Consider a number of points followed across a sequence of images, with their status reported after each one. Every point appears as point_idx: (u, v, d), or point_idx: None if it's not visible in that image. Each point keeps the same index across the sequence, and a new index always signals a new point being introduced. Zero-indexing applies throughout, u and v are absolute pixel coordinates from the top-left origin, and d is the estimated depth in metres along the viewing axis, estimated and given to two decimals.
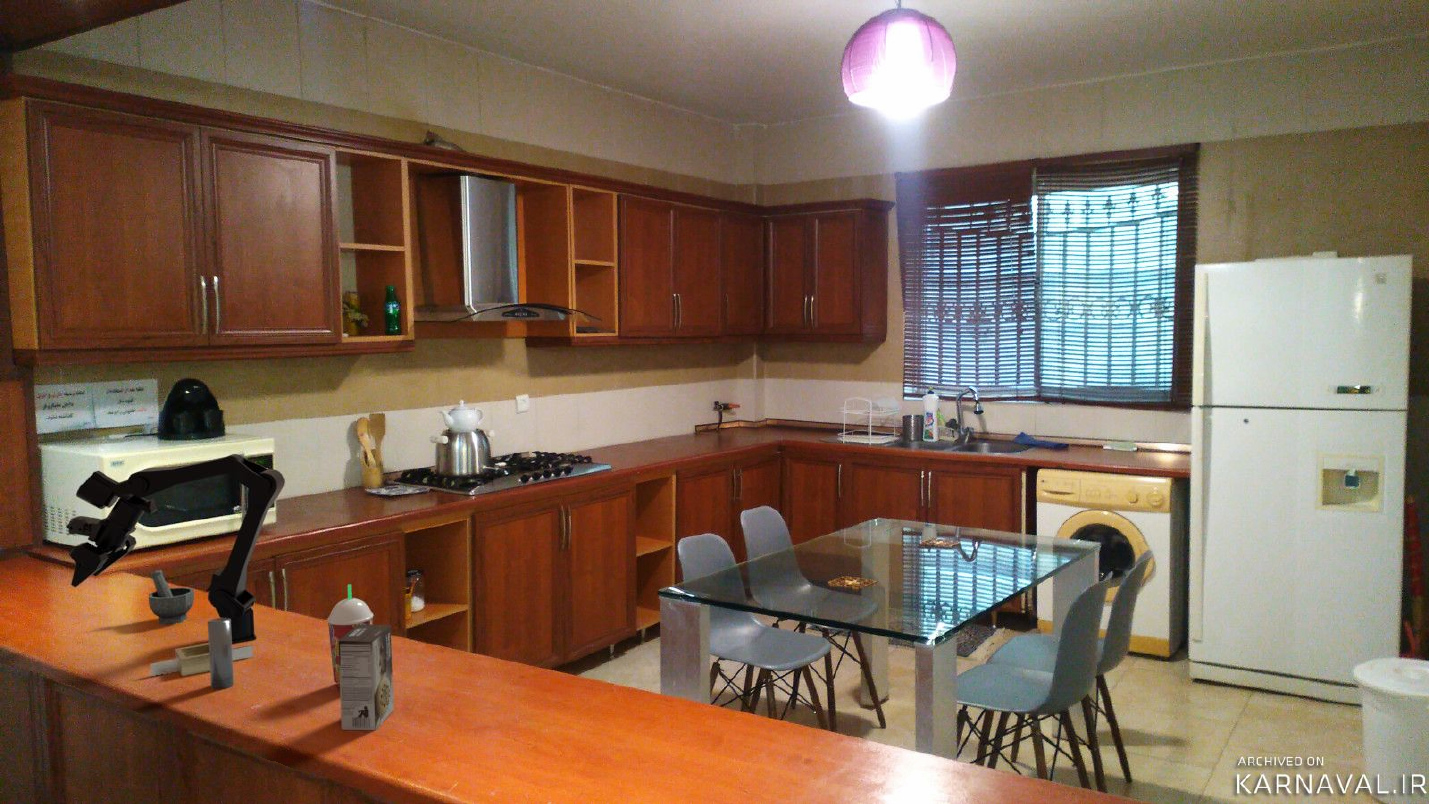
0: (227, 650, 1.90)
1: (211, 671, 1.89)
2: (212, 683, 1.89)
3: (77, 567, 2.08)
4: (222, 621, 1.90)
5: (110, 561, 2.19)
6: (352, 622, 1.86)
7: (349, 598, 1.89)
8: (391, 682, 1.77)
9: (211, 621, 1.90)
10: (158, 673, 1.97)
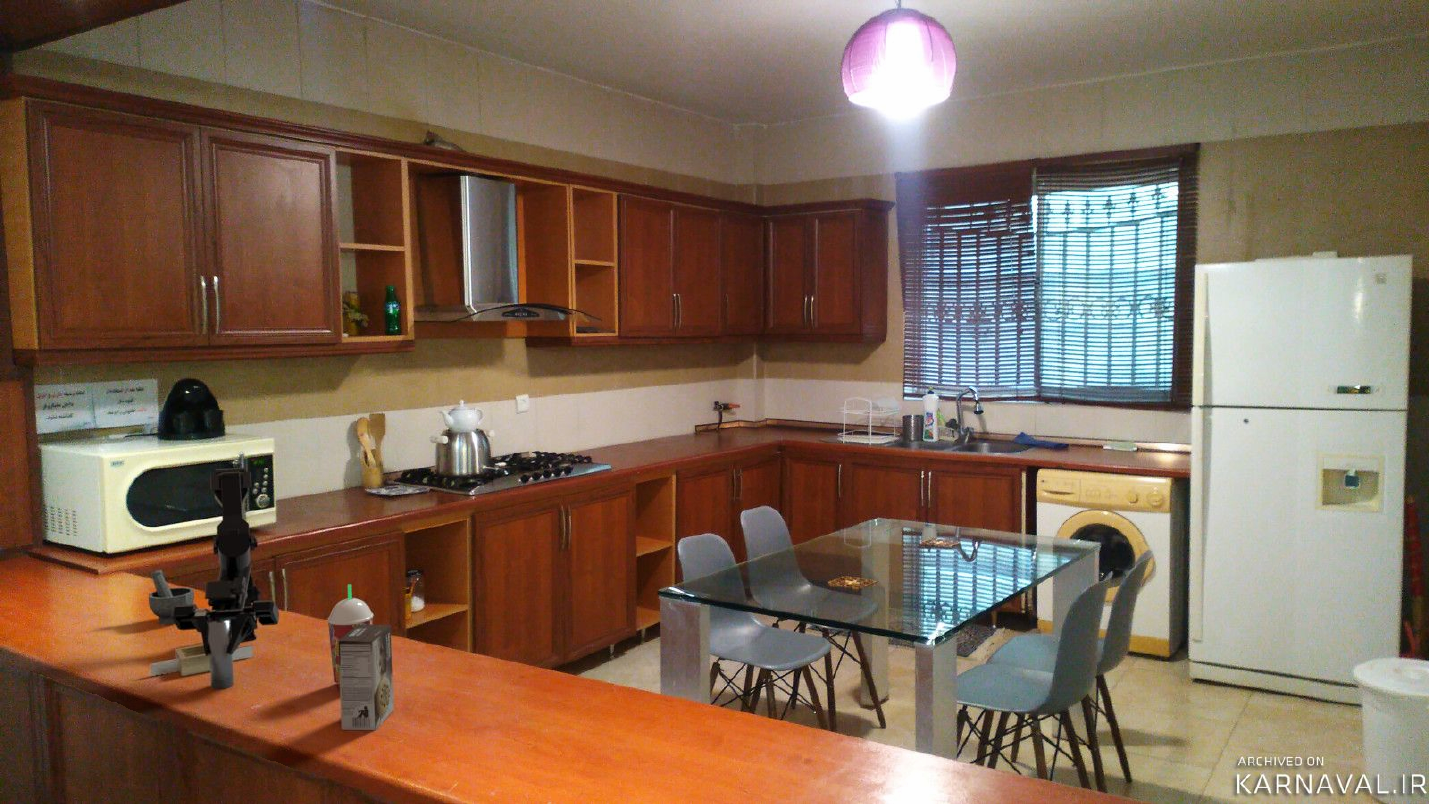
0: (227, 650, 1.90)
1: (211, 671, 1.89)
2: (212, 683, 1.89)
3: (242, 628, 1.92)
4: (222, 621, 1.90)
5: None
6: (352, 622, 1.86)
7: (349, 598, 1.89)
8: (391, 682, 1.77)
9: (211, 621, 1.90)
10: (158, 673, 1.97)
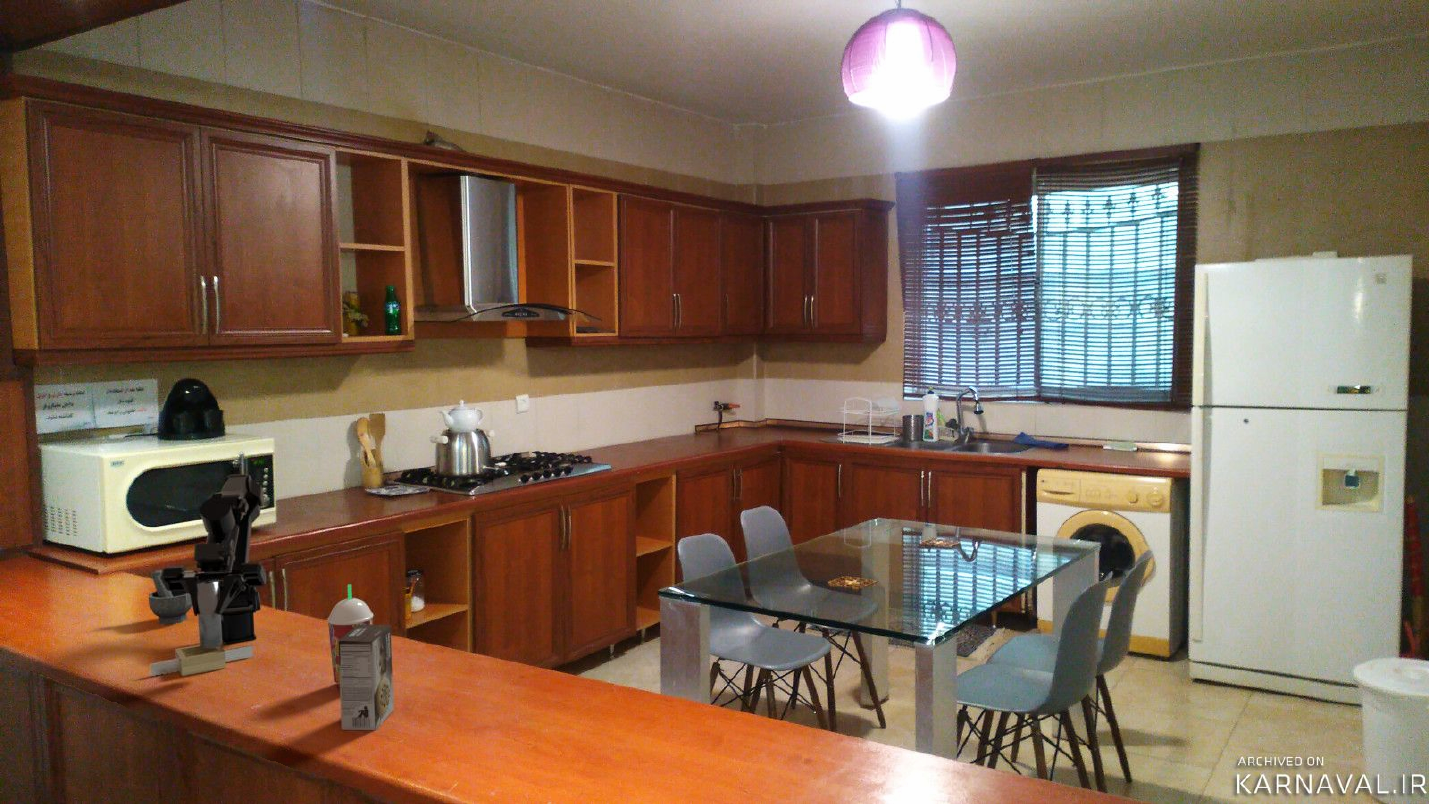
0: (216, 611, 1.95)
1: (200, 631, 1.94)
2: (201, 642, 1.94)
3: (230, 590, 1.97)
4: (210, 582, 1.95)
5: None
6: (352, 622, 1.86)
7: (349, 598, 1.89)
8: (391, 682, 1.77)
9: (200, 582, 1.94)
10: (158, 673, 1.97)
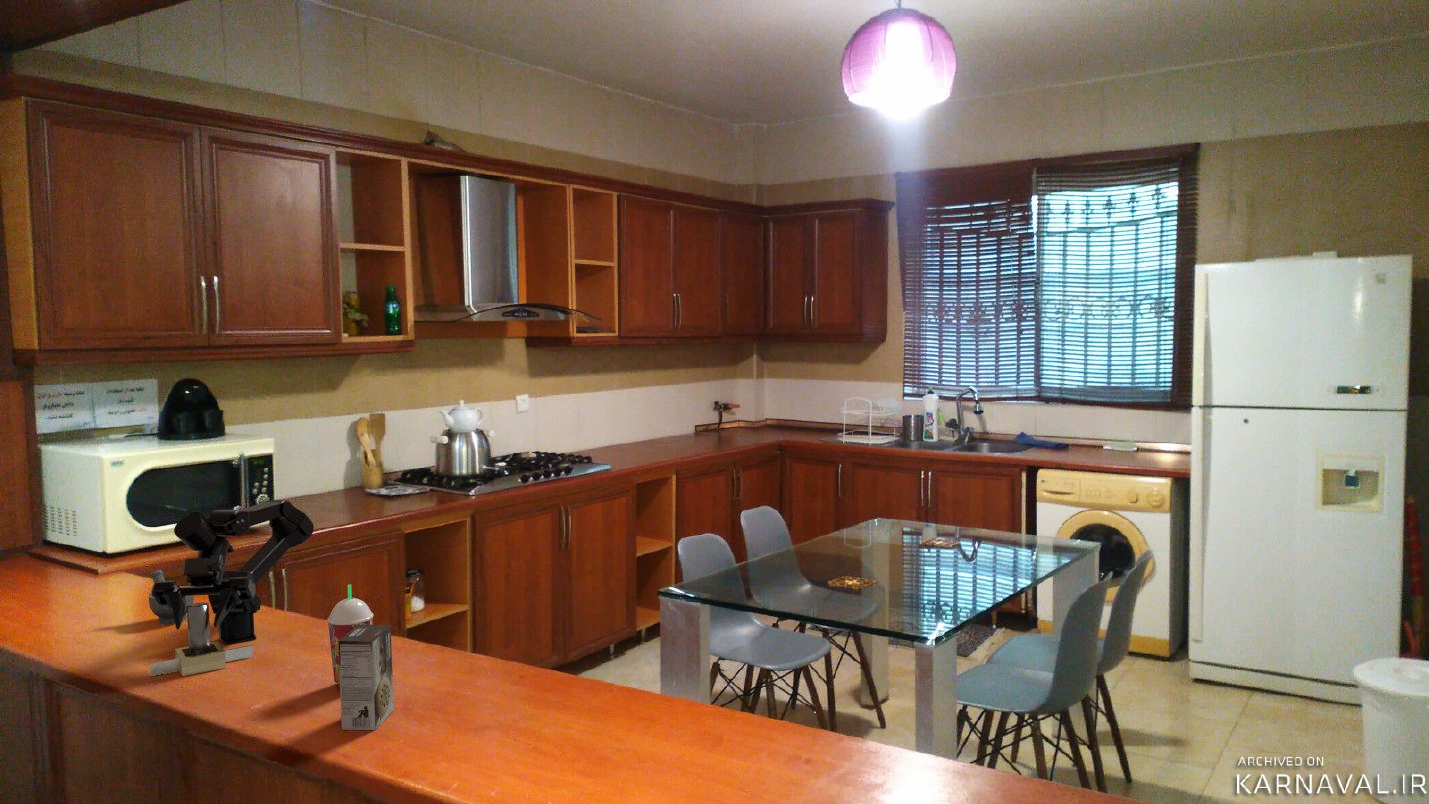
0: (205, 633, 2.00)
1: (190, 653, 2.00)
2: None
3: (226, 603, 2.03)
4: (200, 605, 2.01)
5: (181, 613, 2.03)
6: (352, 622, 1.86)
7: (349, 598, 1.89)
8: (391, 682, 1.77)
9: (190, 605, 2.00)
10: (158, 673, 1.97)
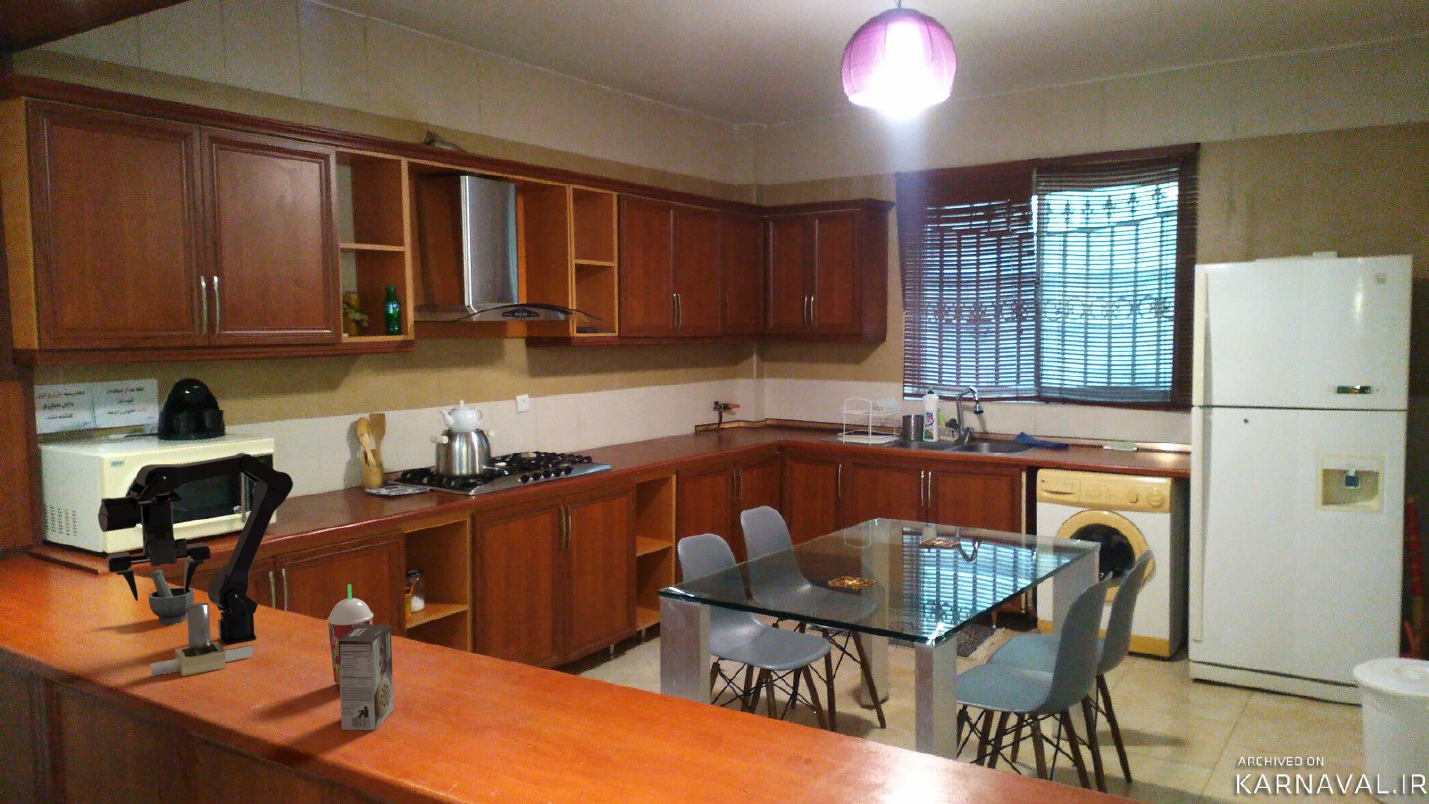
0: (205, 633, 2.00)
1: (190, 653, 2.00)
2: None
3: None
4: (200, 605, 2.01)
5: None
6: (352, 622, 1.86)
7: (349, 598, 1.89)
8: (391, 682, 1.77)
9: (190, 605, 2.00)
10: (158, 673, 1.97)
